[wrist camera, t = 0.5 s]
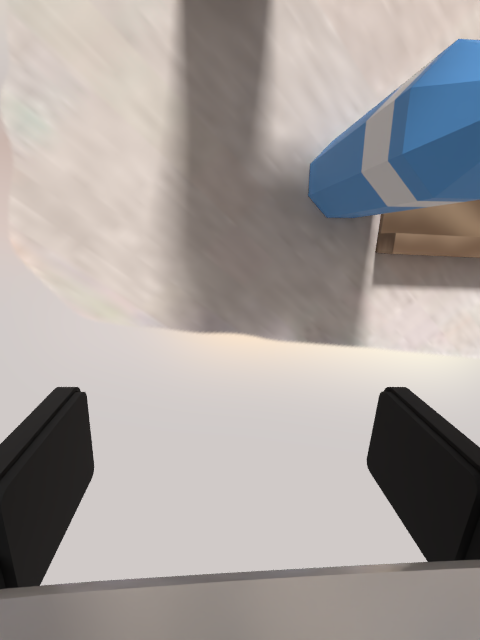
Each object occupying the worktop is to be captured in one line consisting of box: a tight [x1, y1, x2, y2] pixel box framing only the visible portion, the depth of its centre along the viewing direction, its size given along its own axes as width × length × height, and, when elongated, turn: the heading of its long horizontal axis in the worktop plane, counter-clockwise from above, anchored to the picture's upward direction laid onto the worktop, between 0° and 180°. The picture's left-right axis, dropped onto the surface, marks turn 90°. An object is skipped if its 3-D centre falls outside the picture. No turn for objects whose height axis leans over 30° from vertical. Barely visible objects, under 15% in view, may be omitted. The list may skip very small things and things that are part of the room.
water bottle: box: [308, 39, 480, 218], centre depth 26 cm, size 9×9×25 cm
